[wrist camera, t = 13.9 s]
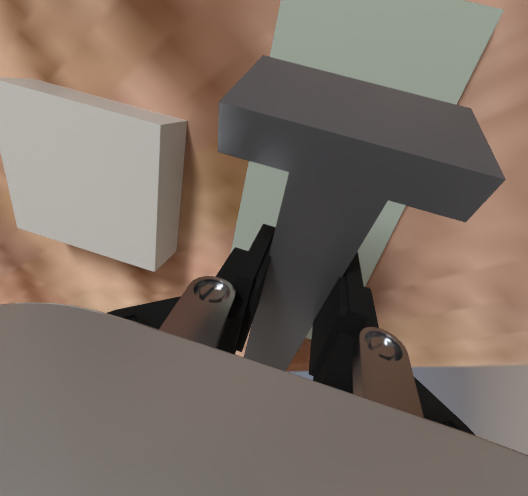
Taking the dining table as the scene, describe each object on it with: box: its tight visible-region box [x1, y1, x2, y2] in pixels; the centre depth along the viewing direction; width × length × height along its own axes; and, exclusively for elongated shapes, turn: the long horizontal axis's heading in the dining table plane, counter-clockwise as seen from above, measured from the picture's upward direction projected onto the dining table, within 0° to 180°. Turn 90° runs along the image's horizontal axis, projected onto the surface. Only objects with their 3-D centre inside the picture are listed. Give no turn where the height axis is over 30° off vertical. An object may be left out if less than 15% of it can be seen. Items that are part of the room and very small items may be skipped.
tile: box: [0, 77, 187, 272], centre depth 18 cm, size 3×9×10 cm
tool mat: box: [231, 0, 504, 339], centre depth 17 cm, size 9×20×1 cm, turn 167°
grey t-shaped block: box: [218, 55, 506, 371], centre depth 13 cm, size 15×6×4 cm, turn 167°
